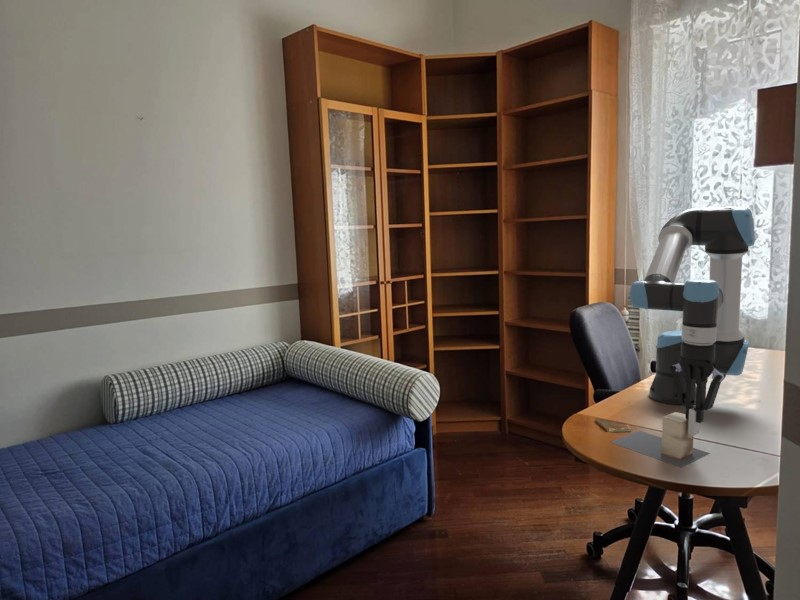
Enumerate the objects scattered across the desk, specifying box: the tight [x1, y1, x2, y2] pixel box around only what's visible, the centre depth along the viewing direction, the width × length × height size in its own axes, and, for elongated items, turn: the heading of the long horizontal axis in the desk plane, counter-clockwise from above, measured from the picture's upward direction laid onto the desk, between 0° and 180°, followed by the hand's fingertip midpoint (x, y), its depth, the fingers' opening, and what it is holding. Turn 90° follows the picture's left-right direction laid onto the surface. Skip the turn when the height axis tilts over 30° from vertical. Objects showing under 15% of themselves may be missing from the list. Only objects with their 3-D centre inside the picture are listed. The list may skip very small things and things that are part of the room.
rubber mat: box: [610, 430, 711, 469], centre depth 148 cm, size 14×20×1 cm
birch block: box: [661, 411, 695, 460], centre depth 143 cm, size 6×5×10 cm
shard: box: [594, 417, 632, 433], centre depth 165 cm, size 11×8×2 cm
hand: (693, 433), depth 140 cm, fingers closed
